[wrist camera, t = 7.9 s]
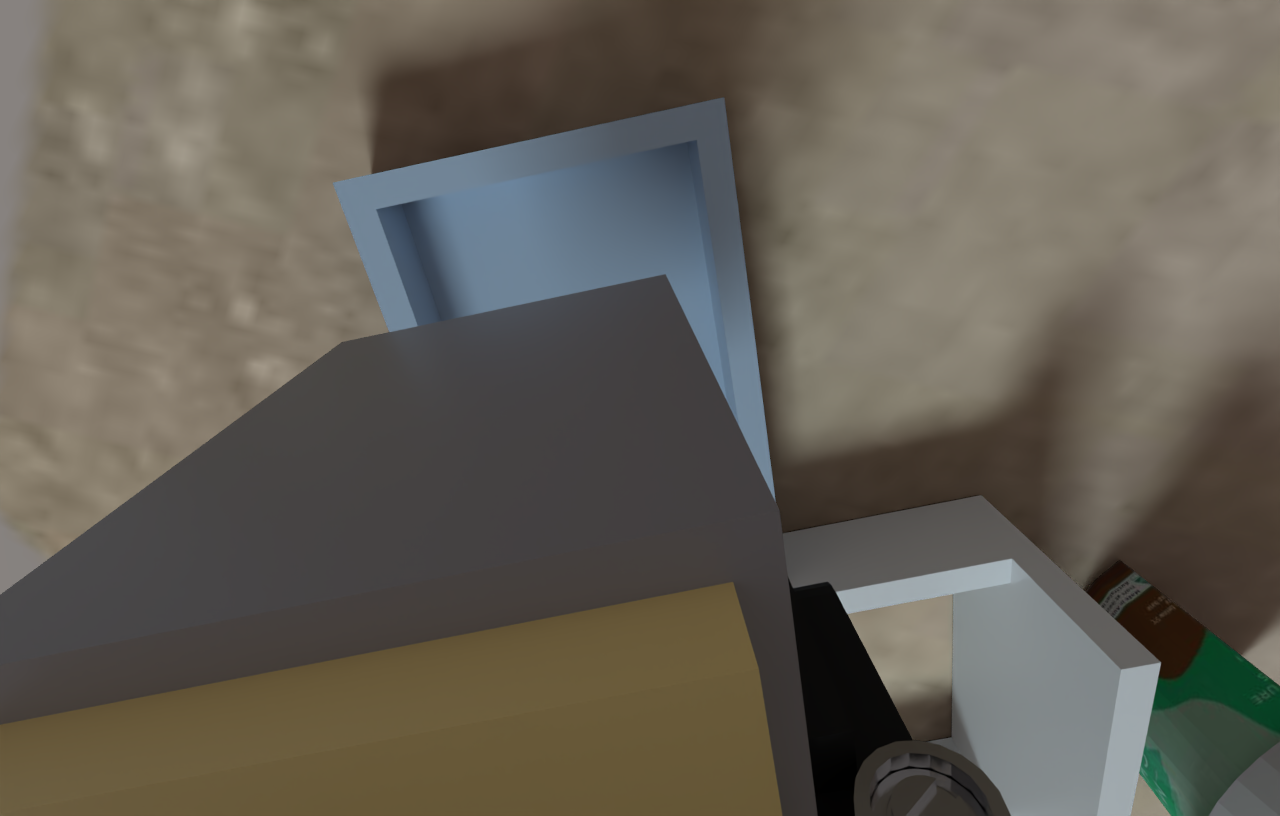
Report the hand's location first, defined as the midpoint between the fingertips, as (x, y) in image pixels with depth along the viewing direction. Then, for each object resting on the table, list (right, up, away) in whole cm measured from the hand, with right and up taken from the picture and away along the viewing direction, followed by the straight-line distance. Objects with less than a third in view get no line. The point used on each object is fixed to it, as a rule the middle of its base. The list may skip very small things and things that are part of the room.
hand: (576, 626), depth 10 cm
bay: (+9, -7, +16) cm, 20 cm away
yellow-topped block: (0, 0, +1) cm, 1 cm away
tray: (0, +4, +10) cm, 11 cm away
